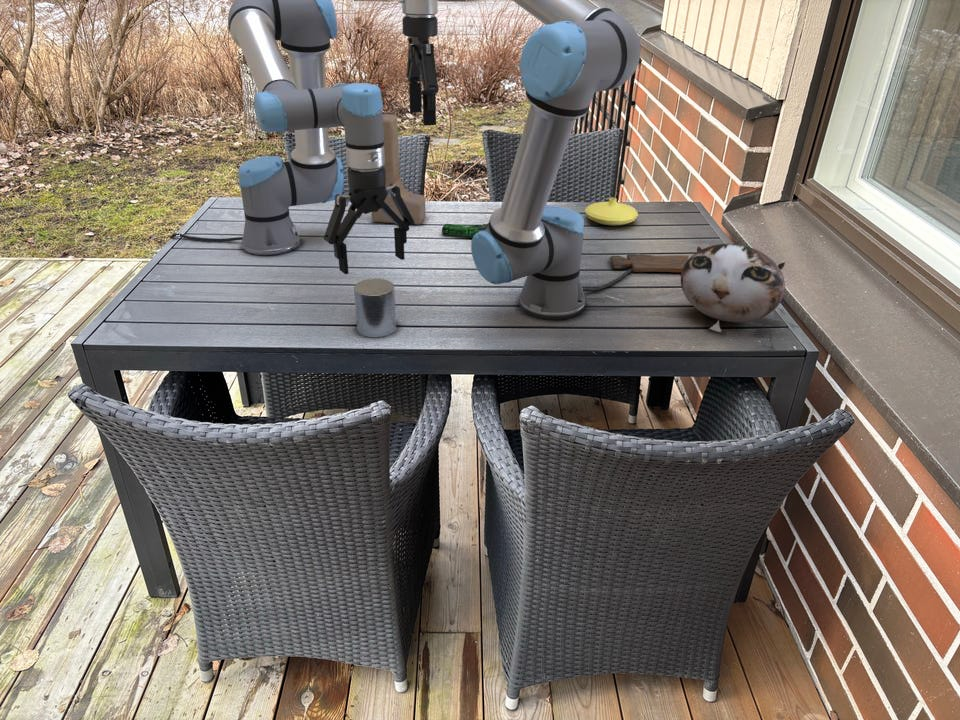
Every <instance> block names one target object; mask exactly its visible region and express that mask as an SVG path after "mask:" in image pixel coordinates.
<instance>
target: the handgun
mask: <svg viewBox="0 0 960 720" xmlns="http://www.w3.org/2000/svg"><path fill="white" fill-rule="evenodd" d="M487 227H488V223H483V224H482V225H479V224H472V225H459V224H453V223H445V224H443V226H442V227H441V235H446V236H454V237H462V238H469V239H470V238H471V239H472V238H473V236H474V235H475V234H476V233H478V232H479V231H485V230H486V229H487Z"/></svg>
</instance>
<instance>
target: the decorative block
mask: <svg viewBox="0 0 960 720" xmlns="http://www.w3.org/2000/svg"><path fill="white" fill-rule="evenodd" d="M397 116H398V115H396V114H390V113H389V114H387V113H383V133H384V155H385V165H384V166H383V167H384V168H385V172H386V185H385V187H389V185H390V184H394V185H396V186H398V187H399V188H400V193H401V197H402V199H403V201H404V203H405V205H406V207H407V209H408V210H409V212H410V214H411V216H412V218H413V220H414V222H415V223H414V225H417V226H418V225H422V223H423V221H424V220H425V218H426V197H425V195H423V194H418V193H414V192H410V191H409V190H407V189H406V188H405V186H404V184H403V182H402V180H401V175H400V151H399V127H398V126H399V125H398V117H397ZM384 202H385V203H386V204H387V205H388V206H389V207H390V208H391V210H392V211H393V212H394V213H395V214H396V215H397V216H398V217H399V218H400V219H401V220H402V221H403V218H402V216H401V214H400V212H399V211H398V209H397V207H396V205H395V203H394V201H393V200H392V198H391V196H389V194H388V195H387V197H386V199H385V201H384ZM371 221H372V222H374V223H387V224H395V223H394V222H393V221H392V220H391V219H390V218H389V217H388V216H387V215H386V214H385V213H384V212H383V211H382V210H381V209H379V210H378V211H377V212H371Z"/></svg>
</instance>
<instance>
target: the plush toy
mask: <svg viewBox="0 0 960 720" xmlns="http://www.w3.org/2000/svg"><path fill="white" fill-rule="evenodd" d="M785 265H786V262H780V263H778V264H777V263H776V262H775V261H774V260H773V259H772V258H771V257H770V256H768V255H767V254H765V253H764V252H762V251H761V250H759V249H756V248H754V247H750V246H749V245H748V246H747V245H744V244H738V243H719V244H718V243H717V244H713V245H710V246H707V247H704V248H701V247H700V246H697V248H696V252H695V253H693V255H691V256H689V257H688V261H687V262H686V263H685V265H684V267H683V269H682V273H681V272H680V286H681V290H682V293H683V294H684V296H685V298H686V300H687V301H688V302H689V303H690V304H691V306H693V307H694V308H695V309H696V310H697V311H699V312H701V313H702V314H704V315H706V316H708V317H709V318H712V319H715V320H717V322H716V323H715V324H714V325H713V326H710V327H709V328H708V329H709V330H711V331H713V332H718V333H722V332H723V330H722V329H721V327H720V321H721V322H728V323H747V322H752V321H757V320H759V319H762V318H764V317H766V316H768V315H769V314H771V313H773V311H775V310H776V309H777V308H778V307H779V305H780V304H781V302H782V301H783V298H784V297H785V293H786V280H785V277H784V274H783V272H782V269H783V268H784V266H785Z"/></svg>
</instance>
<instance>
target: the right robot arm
mask: <svg viewBox="0 0 960 720" xmlns="http://www.w3.org/2000/svg"><path fill="white" fill-rule="evenodd" d="M511 1H512V2H514V3H515V4H516V5H518V6H519V7H520V8H522V9H523V10H525V11H526V12H527V13H529V14H530V15H531V16H533V17H535V19H537V20H538V21H539V22H541V23H542V24H543V25H541V26H540V27H538V28H537V29H536V30H534V31H533V32H532V33H531V34H530V35H529V37H528V38H527V40H526V42H525V44H524V45H523V48H522V51H521V55H520V59H519V71H520V72H522V73H521V75H520V80H521V84H522V86H523V88H524V90H525V93H524V95H525V98H526V99H527V101H528V103H529V104H530V106H529V109H528V113H527V115H526V120H525V123H524V126H523V130H522V133H521V137H520V140H519V143H518V146H517V150H516V154H515V157H514V161H513V164H512V168H511V171H510V174H509V177H508V181H507V185H506V189H505V192H504V195H503V199H502V202H501V205H500V207H499V208H497V209H494V210H493V211H492V213H491V214H490V217H489V221H488V223H487V224H488V227H487V229H486V230H485V231H479V232H478V233H476V234H475V235H474V236H473V238H471V242H470V243H471V244H470V252H471V256H472V260H473V262H474V265H475V268H476V270H477V271H478V273H479V274H480V275H481V276H482V278H483V279H484V280H485V281H486V282H488V283H490V284H492V285H501V284H507V283H508V284H509V283H511V282H513V281H516V280H519V279H522V278H525V277H526V278H525V281H524V283H523V286H522V288H521V291H520V293H519V295H518V296H519V297H518V298H519V299H518V306H519V307H520V309H521V310H522V311H523V312H524V313H526V314H528V315H529V316H532V317H535V318H538V319H543V320H557V321H558V320H559V321H560V320H566V319H567V320H568V319H572V318H574V317H576V316H579V315H581V314H582V313H583V312H584V310H585V305H586V298H585V293H586V292H589V293H590V292H591V293H592V292H598V291H602V290H604V289H606V288H608V287H610V286H612V285H614V284H615V283H618V282H620V281H621V280H622V279H624V278H625V277H626V276H627V275H628V274H630V273H632V272H633V268H632V267H631V268H628V269H627V270H626V271H625V272H623V273H622V274H620V276H618V277H616V278H614V279H613V280H611V281H610V282H608V283H605V284H603V285H601V286H597V287H585V288H584V287H583V285H582V282H581V277H580V275H581V274H580V273H581V263H582V255H583V254H582V253H583V244H584V237H585V236H584V235H585V231H584V230H585V228H584V227H585V220H584V217H583V215H582V214H581V213H579V212H578V211H576V210H574V209H571V208H567V207H563V206H559V205H548V202H549V198H550V196H551V193H552V190H553V187H554V184H555V181H556V178H557V175H558V172H559V171H560V170H559V169H560V167H561V163H562V161H563V157H564V155H565V153H566V150H567V146H568V144H569V140H570V138H571V135H572V132H573V129H574V126H575V123H576V120H577V119H580V118H582V117H584V116H586V115H587V114H588V112H589V109H590V106H591V103H592V101H593V98H594V95H595V93H599V92H606V91H610V90H614V89H617V88H619V87H620V86H623V85H624V84H625V83H627V82H628V81H629V80H630V79H631V77H633V75H634V74H635V72H636V70H637V68H638V65H639V63H640V59H641V55H642V54H641V52H642V51H641V49H642V48H641V41H640V37H639V35H638V31H636V30H635V27H634V26H633V25H632V24H631V23H630V22H629V21H628V20H627V19H625V18H624V17H623V16H622V15H620V14H619V13H618V12H615V11H614V10H613V9H611V8H609V7H606V6H602V7H597V6H595V5H594V4H593V3H591V2H589V1H588V0H511ZM398 2H399V3H400V4H401V11H402V14H403V15H404V16H403V17H402V19H401V20H402V21H401V22H402V34H403V36H405V37H407V42H408V43H407V44H408V46H407V47H408V48H407V59H406V61H407V62H406V73H405V76H406V78H407V81H408V99H409V113H410V114H413V113H415V114H416V113H422V120H423V121H422V124H423V126H425V127H426V126H437V101H436V99H437V98H436V97H437V96H436V95H437V93H439V90H440V89H439V84H438V76H437V68H436V60H435V45H434V43H430V38H432V37H437V36H438V35H439V30H438V28H439V27H438V25H439V24H438V23H439V22H438V21H439V19H438V18H437V16H436V15H437V14H438V12H439V11H438V7H439V5H438V3H439V2H438V0H398ZM584 292H585V293H584Z"/></svg>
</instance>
